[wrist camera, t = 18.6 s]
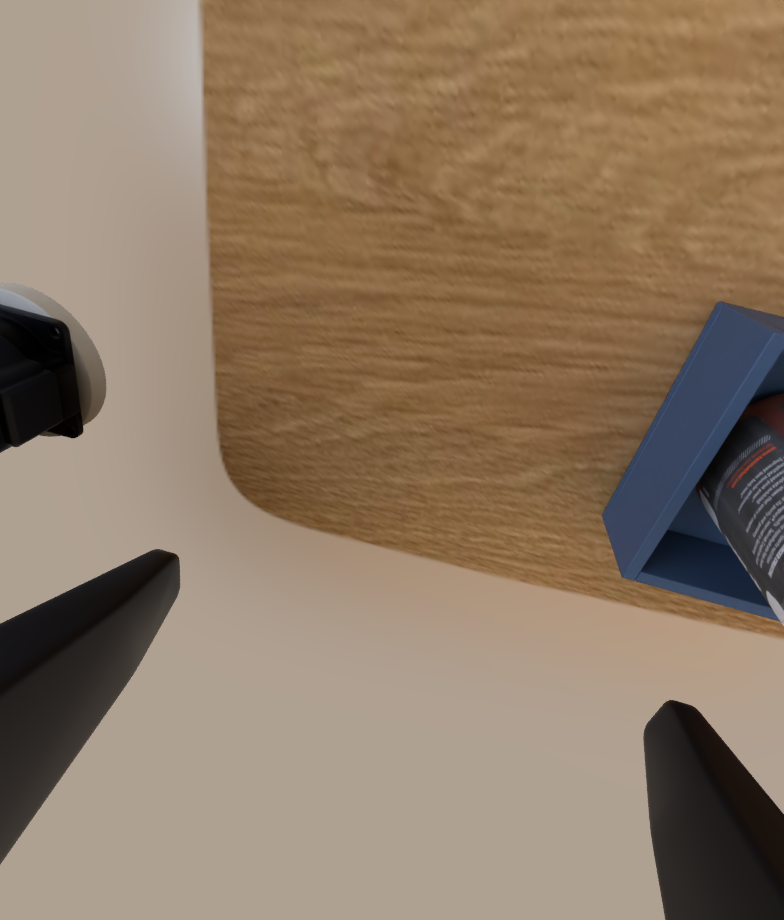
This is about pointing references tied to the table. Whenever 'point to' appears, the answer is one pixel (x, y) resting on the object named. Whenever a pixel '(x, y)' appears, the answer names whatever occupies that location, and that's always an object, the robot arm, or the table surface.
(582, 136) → the table surface
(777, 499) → the supplement bottle
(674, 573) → the blue open box
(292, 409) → the table surface
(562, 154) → the table surface
